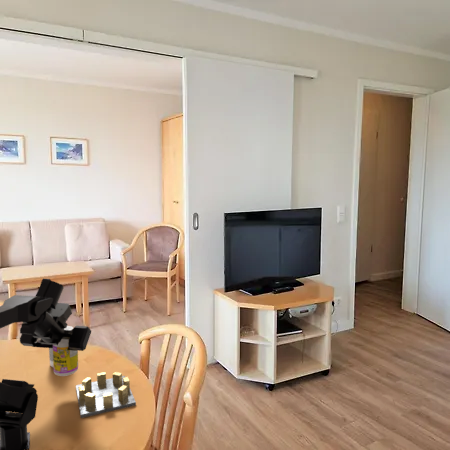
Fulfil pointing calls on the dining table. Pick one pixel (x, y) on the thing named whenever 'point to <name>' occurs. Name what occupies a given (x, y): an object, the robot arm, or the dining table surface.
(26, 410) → the robot arm
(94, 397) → the grey tray with blocks
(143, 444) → the dining table surface
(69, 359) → the supplement bottle
